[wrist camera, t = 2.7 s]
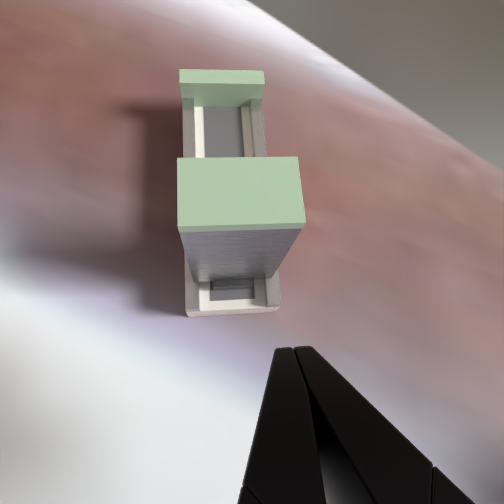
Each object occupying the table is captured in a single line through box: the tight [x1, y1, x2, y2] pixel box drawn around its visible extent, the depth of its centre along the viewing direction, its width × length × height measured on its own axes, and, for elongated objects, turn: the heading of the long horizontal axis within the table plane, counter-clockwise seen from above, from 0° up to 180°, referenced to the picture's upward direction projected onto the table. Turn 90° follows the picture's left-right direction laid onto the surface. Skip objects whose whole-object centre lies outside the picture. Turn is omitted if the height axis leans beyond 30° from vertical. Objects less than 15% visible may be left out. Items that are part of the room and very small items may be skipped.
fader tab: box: [177, 157, 306, 290], centre depth 15 cm, size 3×4×8 cm
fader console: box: [179, 69, 281, 317], centre depth 21 cm, size 14×5×4 cm, turn 4°
